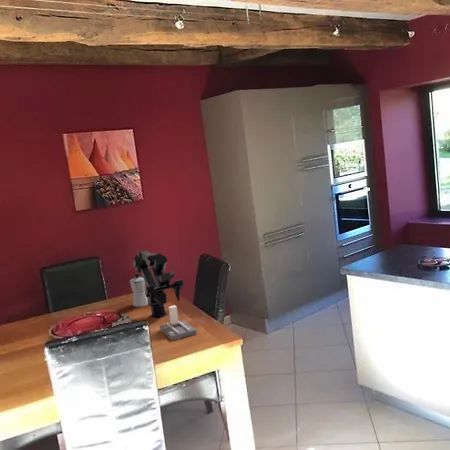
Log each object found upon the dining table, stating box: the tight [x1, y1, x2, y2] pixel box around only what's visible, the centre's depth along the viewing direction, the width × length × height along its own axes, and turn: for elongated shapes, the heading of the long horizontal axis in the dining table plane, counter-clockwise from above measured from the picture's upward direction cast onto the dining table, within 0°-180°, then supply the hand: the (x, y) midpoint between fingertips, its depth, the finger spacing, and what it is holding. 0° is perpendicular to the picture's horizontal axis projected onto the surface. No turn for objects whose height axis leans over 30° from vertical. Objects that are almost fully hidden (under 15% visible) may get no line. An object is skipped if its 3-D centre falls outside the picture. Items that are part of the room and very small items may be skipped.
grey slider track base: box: [159, 320, 197, 341], centre depth 234 cm, size 16×12×3 cm
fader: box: [168, 304, 180, 327], centre depth 236 cm, size 3×4×9 cm
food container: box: [111, 313, 132, 327], centre depth 231 cm, size 12×6×10 cm, turn 168°
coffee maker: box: [129, 272, 148, 308], centre depth 281 cm, size 15×9×18 cm, turn 179°
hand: (170, 302), depth 238 cm, fingers open, 9 cm apart
